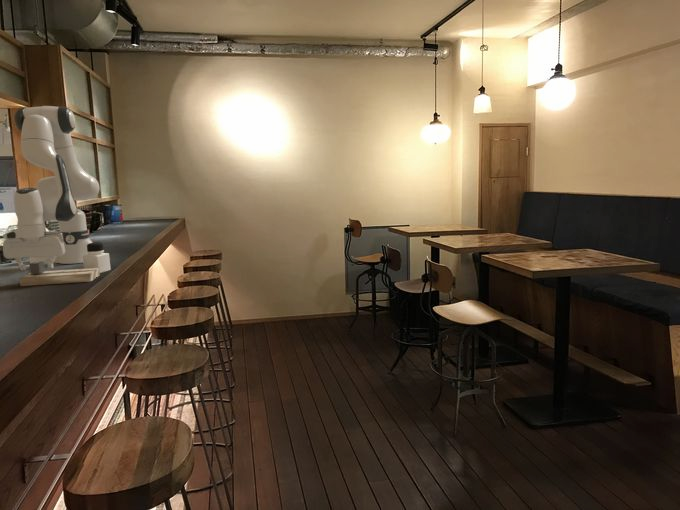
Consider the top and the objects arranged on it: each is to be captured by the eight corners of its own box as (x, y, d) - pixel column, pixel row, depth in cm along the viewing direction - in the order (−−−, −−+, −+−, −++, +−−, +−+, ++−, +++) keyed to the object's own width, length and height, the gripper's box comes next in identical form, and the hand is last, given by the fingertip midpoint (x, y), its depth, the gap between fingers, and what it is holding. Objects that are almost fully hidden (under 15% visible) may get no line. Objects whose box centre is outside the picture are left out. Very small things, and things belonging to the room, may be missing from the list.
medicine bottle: (111, 270, 210) (108, 241, 208) (98, 273, 204) (95, 244, 201) (96, 269, 212) (93, 241, 210) (84, 273, 205) (80, 243, 203)
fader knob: (36, 271, 193) (34, 261, 192) (44, 271, 194) (43, 260, 193) (30, 274, 188) (29, 263, 187) (39, 273, 189) (38, 263, 188)
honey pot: (23, 263, 234) (17, 224, 231) (46, 258, 246) (41, 221, 243) (45, 264, 230) (39, 224, 227) (67, 259, 242) (62, 221, 239)
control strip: (34, 279, 197) (33, 271, 196) (100, 275, 201) (99, 267, 200) (20, 286, 185) (19, 277, 184) (90, 281, 189) (89, 273, 188)
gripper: (65, 229, 193) (69, 265, 195) (6, 232, 190) (11, 269, 192) (59, 231, 187) (64, 268, 189) (-2, 234, 183) (3, 272, 186)
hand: (37, 268), depth 190 cm, fingers open, 8 cm apart
